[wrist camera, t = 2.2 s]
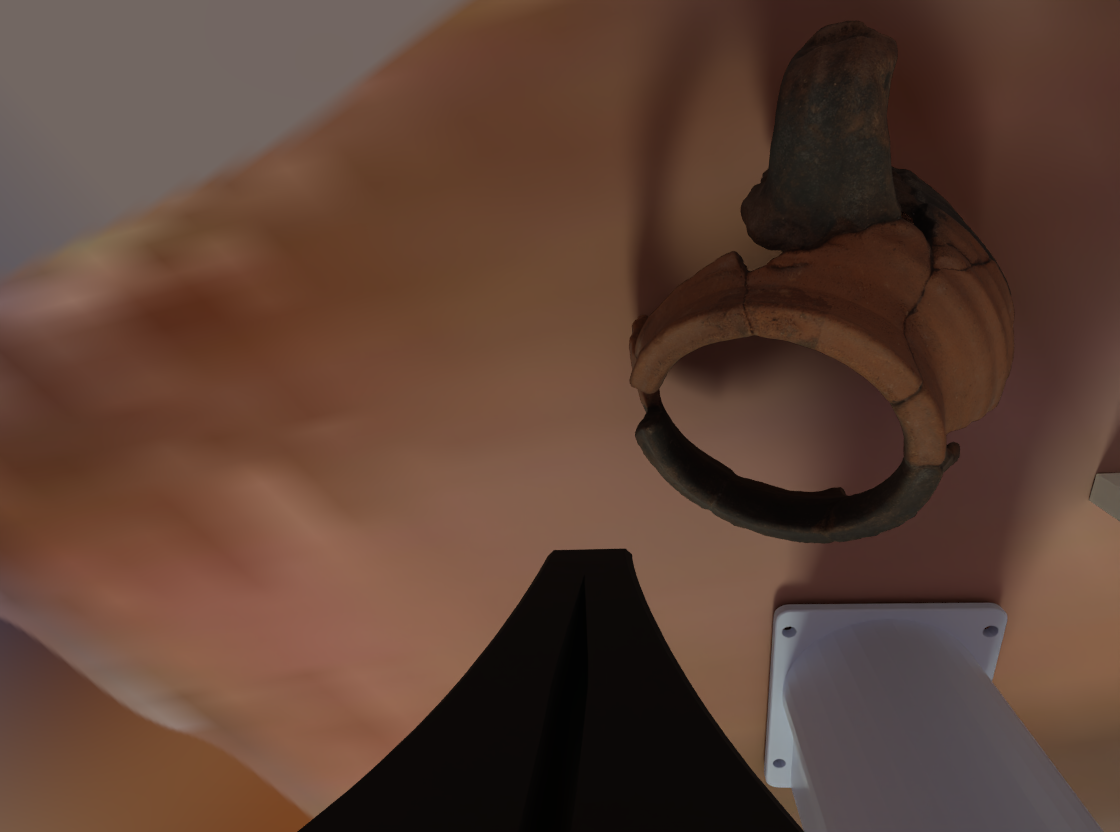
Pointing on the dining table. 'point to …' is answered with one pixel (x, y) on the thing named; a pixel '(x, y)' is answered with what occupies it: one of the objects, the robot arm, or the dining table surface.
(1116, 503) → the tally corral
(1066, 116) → the dining table surface
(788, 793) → the dining table surface
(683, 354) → the pottery mug
